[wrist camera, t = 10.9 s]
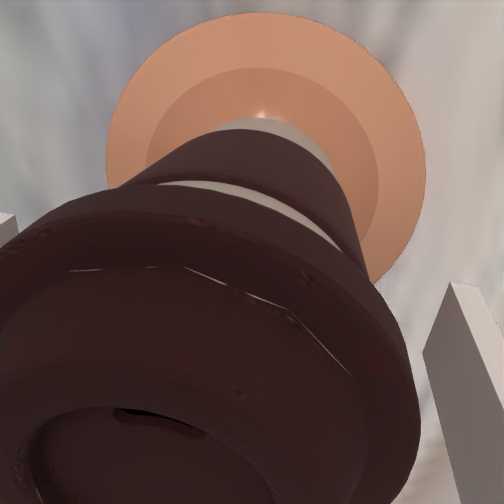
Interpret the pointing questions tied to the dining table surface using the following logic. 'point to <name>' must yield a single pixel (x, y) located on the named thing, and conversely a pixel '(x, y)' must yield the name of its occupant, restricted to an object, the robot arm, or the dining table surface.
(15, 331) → the coffee cup
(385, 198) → the saucer
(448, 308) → the robot arm
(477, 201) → the dining table surface
